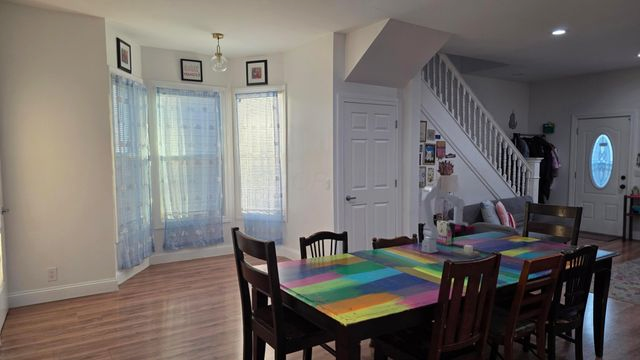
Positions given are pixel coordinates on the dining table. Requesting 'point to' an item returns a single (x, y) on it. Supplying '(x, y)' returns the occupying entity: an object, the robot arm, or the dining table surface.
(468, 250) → the charger
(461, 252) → the power strip
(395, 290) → the dining table surface
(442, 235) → the candy bar box
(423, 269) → the dining table surface
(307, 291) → the dining table surface
